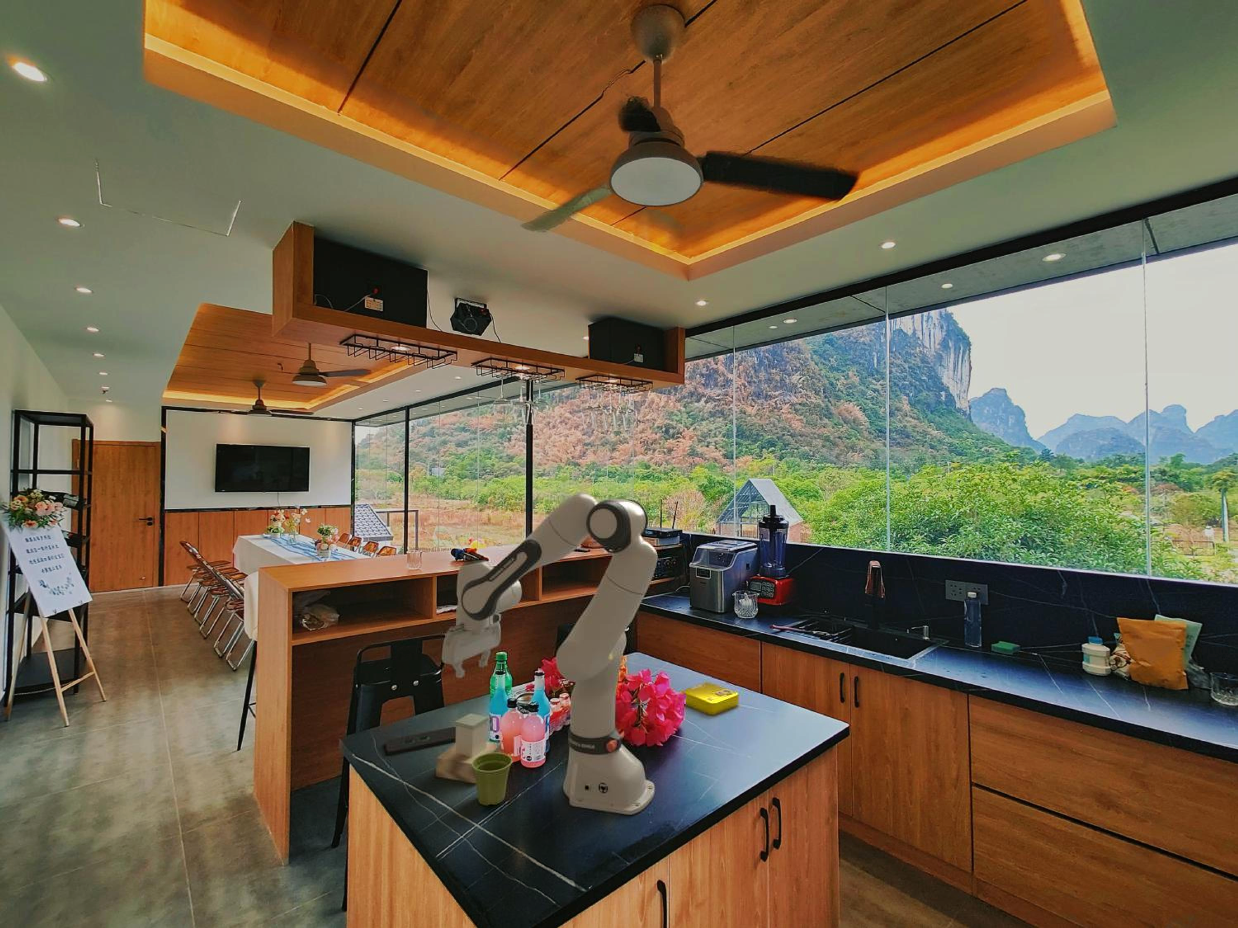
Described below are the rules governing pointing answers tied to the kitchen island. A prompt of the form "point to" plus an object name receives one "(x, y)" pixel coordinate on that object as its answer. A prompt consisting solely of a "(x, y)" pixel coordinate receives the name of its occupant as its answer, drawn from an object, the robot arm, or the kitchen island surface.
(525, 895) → the kitchen island surface
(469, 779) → the oak block
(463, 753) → the cream tea tin
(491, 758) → the plant pot
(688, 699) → the element tile
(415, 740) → the smart home device
